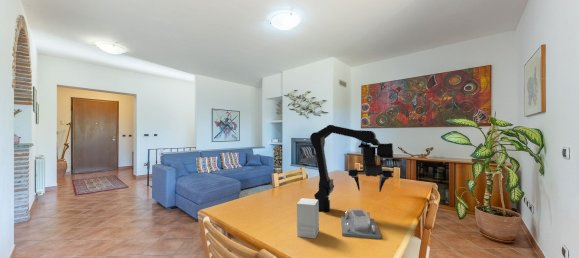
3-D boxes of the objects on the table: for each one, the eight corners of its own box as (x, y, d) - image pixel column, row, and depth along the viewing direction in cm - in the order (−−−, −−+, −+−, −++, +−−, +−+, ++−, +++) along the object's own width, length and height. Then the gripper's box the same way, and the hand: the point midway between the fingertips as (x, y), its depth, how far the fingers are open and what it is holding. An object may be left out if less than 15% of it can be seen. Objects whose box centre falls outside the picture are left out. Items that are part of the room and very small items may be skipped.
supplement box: (319, 230, 90) (319, 199, 90) (315, 239, 83) (315, 205, 83) (301, 228, 92) (301, 197, 92) (296, 236, 85) (296, 203, 85)
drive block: (354, 230, 88) (354, 217, 88) (349, 220, 98) (349, 208, 98) (370, 230, 87) (370, 217, 87) (363, 220, 97) (363, 208, 97)
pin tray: (342, 235, 85) (342, 225, 85) (341, 218, 102) (341, 209, 102) (381, 239, 83) (381, 228, 83) (373, 221, 99) (373, 212, 99)
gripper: (349, 159, 98) (349, 195, 98) (395, 160, 94) (395, 197, 94) (348, 156, 109) (348, 188, 109) (389, 157, 105) (389, 190, 105)
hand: (369, 191), depth 104 cm, fingers open, 9 cm apart
